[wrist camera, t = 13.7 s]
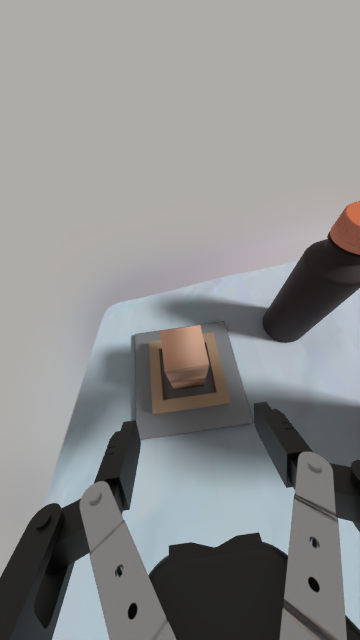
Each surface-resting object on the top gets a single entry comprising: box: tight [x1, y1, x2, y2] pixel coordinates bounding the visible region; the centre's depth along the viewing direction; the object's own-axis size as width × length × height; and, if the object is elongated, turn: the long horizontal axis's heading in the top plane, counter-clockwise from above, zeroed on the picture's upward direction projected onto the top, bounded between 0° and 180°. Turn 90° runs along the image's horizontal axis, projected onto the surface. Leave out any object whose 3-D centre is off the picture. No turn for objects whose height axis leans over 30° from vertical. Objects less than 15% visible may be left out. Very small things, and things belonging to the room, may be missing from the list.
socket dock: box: [135, 321, 253, 440], centre depth 29 cm, size 16×16×3 cm
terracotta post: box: [160, 325, 209, 390], centre depth 24 cm, size 4×4×11 cm
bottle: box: [263, 201, 360, 342], centre depth 25 cm, size 7×7×20 cm
